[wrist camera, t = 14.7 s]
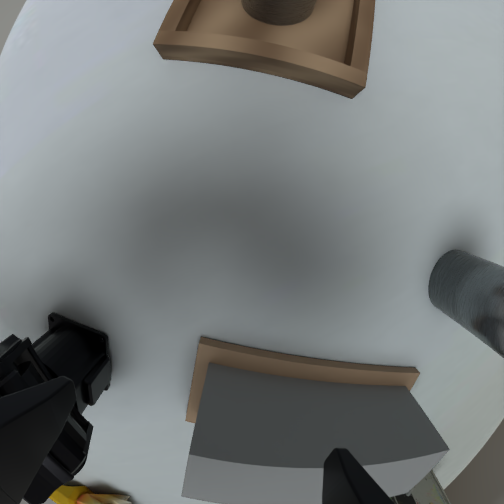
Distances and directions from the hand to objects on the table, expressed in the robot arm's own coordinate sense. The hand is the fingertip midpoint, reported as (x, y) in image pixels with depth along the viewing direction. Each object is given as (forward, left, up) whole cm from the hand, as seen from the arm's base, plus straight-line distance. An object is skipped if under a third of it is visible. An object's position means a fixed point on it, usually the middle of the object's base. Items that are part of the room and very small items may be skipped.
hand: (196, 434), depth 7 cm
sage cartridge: (+19, +5, -13) cm, 23 cm away
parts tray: (-2, +23, -13) cm, 26 cm away
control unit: (+9, -8, -13) cm, 18 cm away
